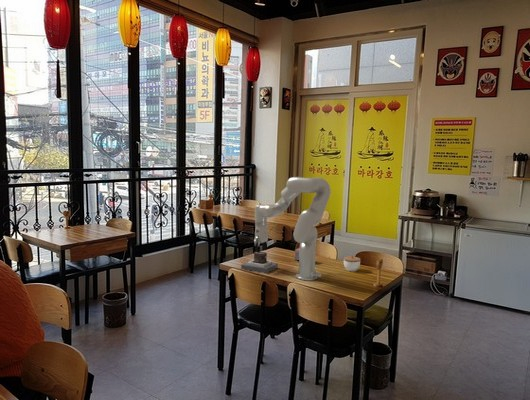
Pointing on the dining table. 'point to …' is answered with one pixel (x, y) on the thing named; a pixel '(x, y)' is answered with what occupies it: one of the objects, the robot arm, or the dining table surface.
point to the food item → (297, 254)
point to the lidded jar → (351, 263)
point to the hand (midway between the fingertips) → (261, 250)
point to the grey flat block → (259, 266)
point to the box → (260, 257)
